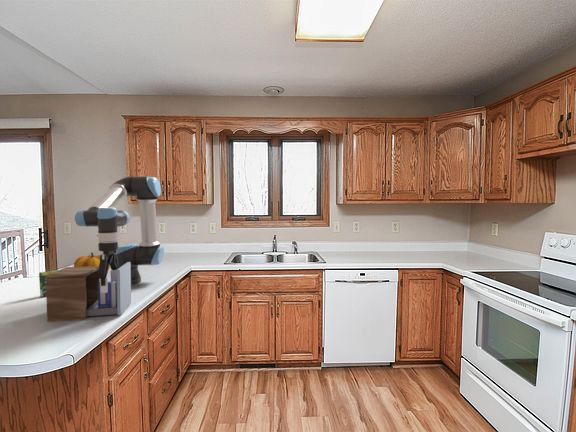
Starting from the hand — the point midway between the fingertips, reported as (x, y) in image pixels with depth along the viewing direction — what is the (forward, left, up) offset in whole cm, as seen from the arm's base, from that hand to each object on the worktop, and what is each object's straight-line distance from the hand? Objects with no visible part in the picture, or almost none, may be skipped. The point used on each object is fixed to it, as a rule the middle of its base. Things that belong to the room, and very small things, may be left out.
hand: (109, 288), depth 137 cm
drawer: (0, 0, -10) cm, 10 cm away
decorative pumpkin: (-77, -34, -11) cm, 84 cm away
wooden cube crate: (0, -14, -10) cm, 17 cm away
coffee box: (-31, -38, -11) cm, 50 cm away
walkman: (0, 0, -9) cm, 9 cm away
